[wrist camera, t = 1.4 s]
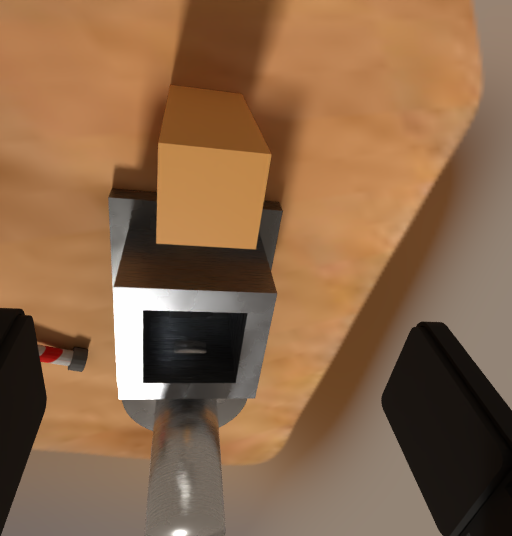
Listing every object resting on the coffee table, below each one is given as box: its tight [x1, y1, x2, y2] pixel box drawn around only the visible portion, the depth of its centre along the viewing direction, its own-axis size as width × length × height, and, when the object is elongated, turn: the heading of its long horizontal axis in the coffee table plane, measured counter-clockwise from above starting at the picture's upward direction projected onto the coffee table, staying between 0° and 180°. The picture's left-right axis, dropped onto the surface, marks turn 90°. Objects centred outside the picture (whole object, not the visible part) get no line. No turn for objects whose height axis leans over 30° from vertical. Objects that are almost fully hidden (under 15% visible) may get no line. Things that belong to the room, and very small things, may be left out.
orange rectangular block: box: [156, 85, 272, 249], centre depth 23 cm, size 4×4×12 cm
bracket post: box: [108, 189, 283, 536], centre depth 29 cm, size 20×12×16 cm, turn 172°
